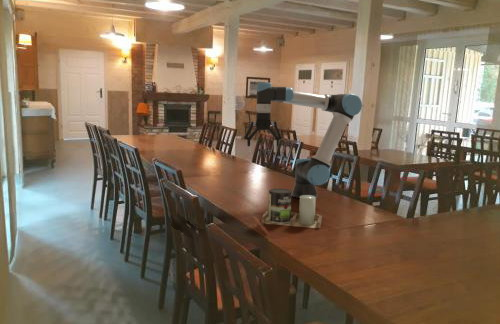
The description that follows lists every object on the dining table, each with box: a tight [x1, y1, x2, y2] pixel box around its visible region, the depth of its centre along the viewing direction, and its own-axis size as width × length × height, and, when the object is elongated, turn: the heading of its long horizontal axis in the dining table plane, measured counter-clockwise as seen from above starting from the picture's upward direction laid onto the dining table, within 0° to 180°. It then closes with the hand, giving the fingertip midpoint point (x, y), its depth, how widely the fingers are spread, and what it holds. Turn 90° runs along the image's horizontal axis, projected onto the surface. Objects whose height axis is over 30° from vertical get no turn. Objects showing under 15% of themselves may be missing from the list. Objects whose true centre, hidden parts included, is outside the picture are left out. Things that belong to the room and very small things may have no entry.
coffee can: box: [268, 188, 293, 225], centre depth 180 cm, size 10×10×14 cm
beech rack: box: [260, 209, 323, 229], centre depth 180 cm, size 26×13×4 cm, turn 76°
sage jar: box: [298, 195, 317, 226], centre depth 177 cm, size 7×7×12 cm
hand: (262, 152), depth 211 cm, fingers open, 13 cm apart
